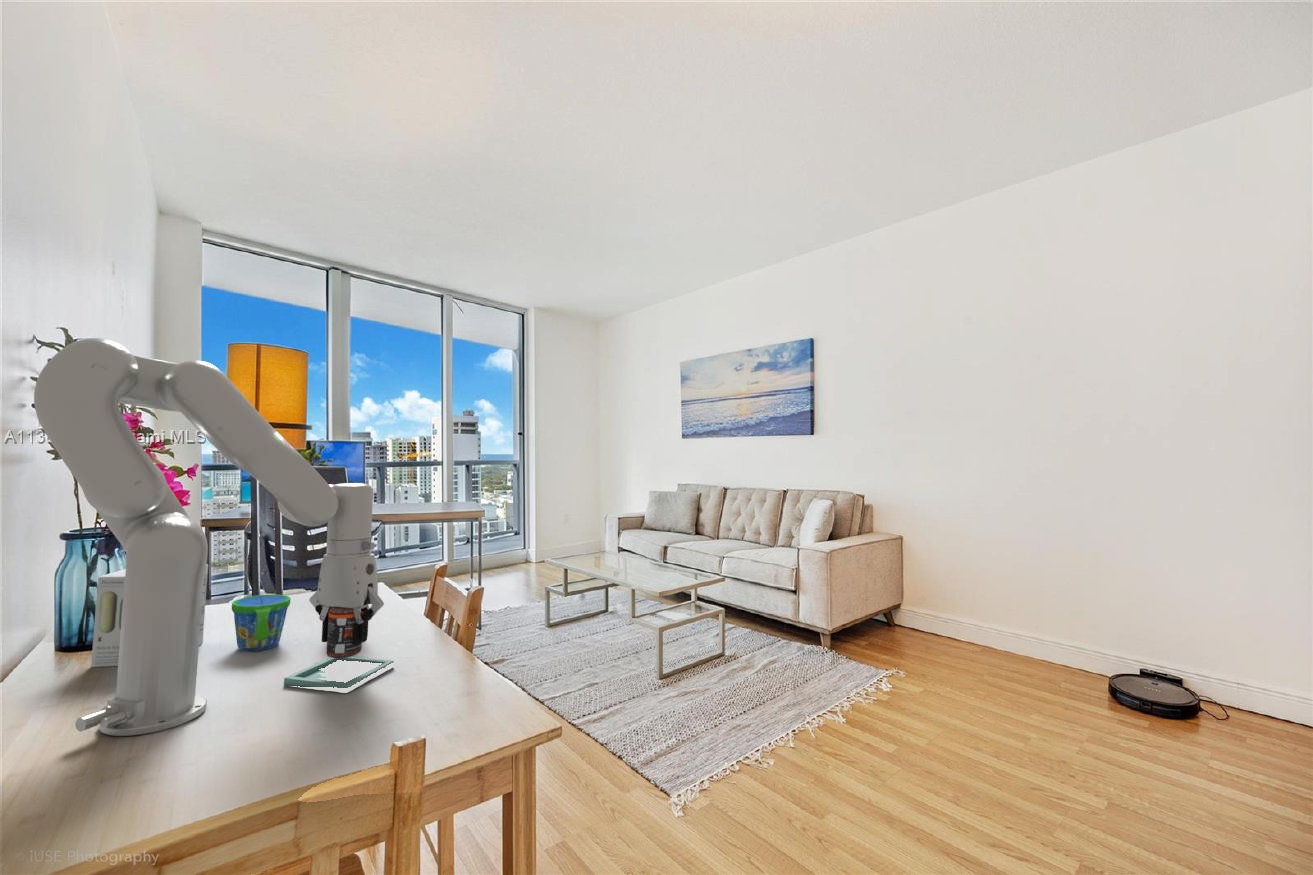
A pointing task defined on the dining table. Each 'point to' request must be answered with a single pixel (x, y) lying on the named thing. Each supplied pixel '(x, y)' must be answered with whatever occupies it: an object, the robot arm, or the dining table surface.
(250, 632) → the snack cup
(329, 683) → the tray
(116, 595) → the supplement box
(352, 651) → the supplement bottle
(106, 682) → the dining table surface
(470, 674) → the dining table surface
